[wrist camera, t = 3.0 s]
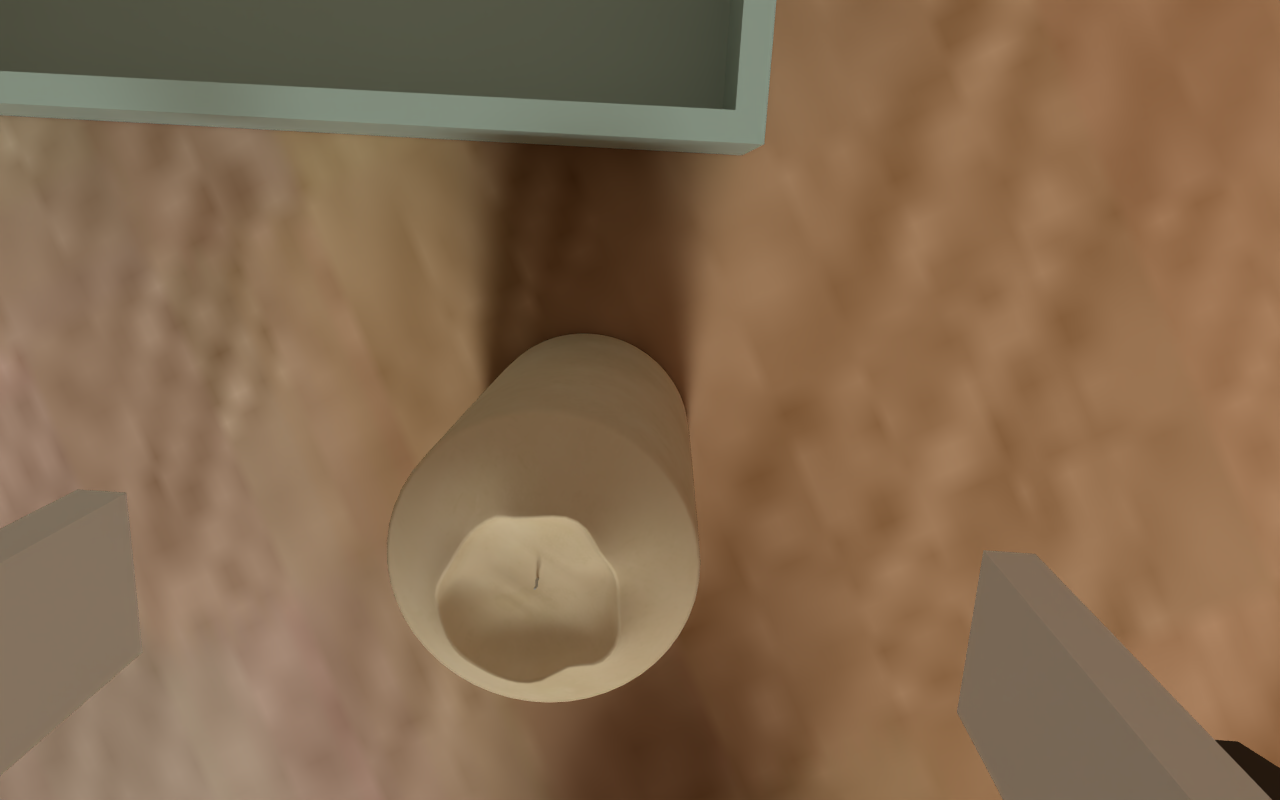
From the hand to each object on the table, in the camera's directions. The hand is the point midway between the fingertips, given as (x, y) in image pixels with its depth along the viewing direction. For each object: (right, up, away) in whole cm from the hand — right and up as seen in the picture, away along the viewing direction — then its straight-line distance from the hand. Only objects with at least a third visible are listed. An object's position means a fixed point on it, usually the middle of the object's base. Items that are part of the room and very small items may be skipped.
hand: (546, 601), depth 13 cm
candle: (0, +2, +10) cm, 11 cm away
